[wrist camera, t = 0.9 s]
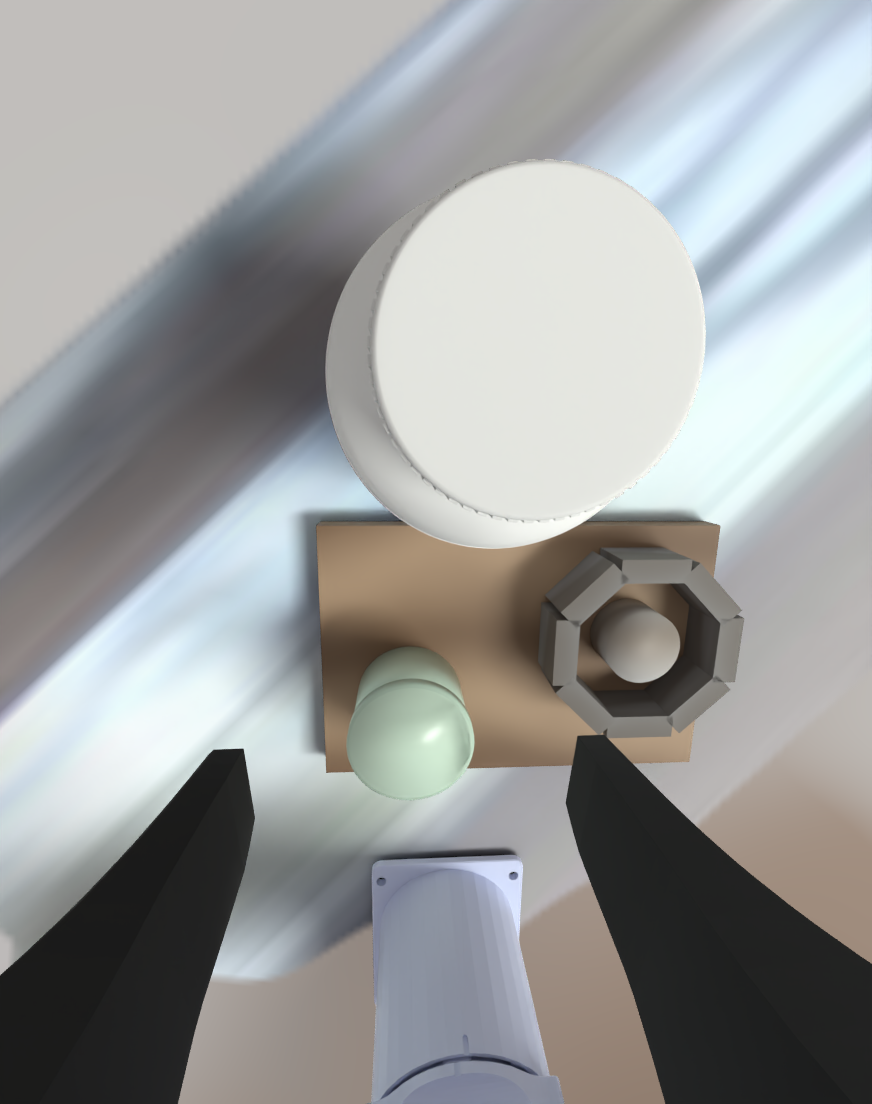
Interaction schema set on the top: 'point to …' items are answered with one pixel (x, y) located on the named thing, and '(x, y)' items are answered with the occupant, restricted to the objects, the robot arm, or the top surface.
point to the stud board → (537, 633)
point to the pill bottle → (515, 353)
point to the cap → (410, 725)
